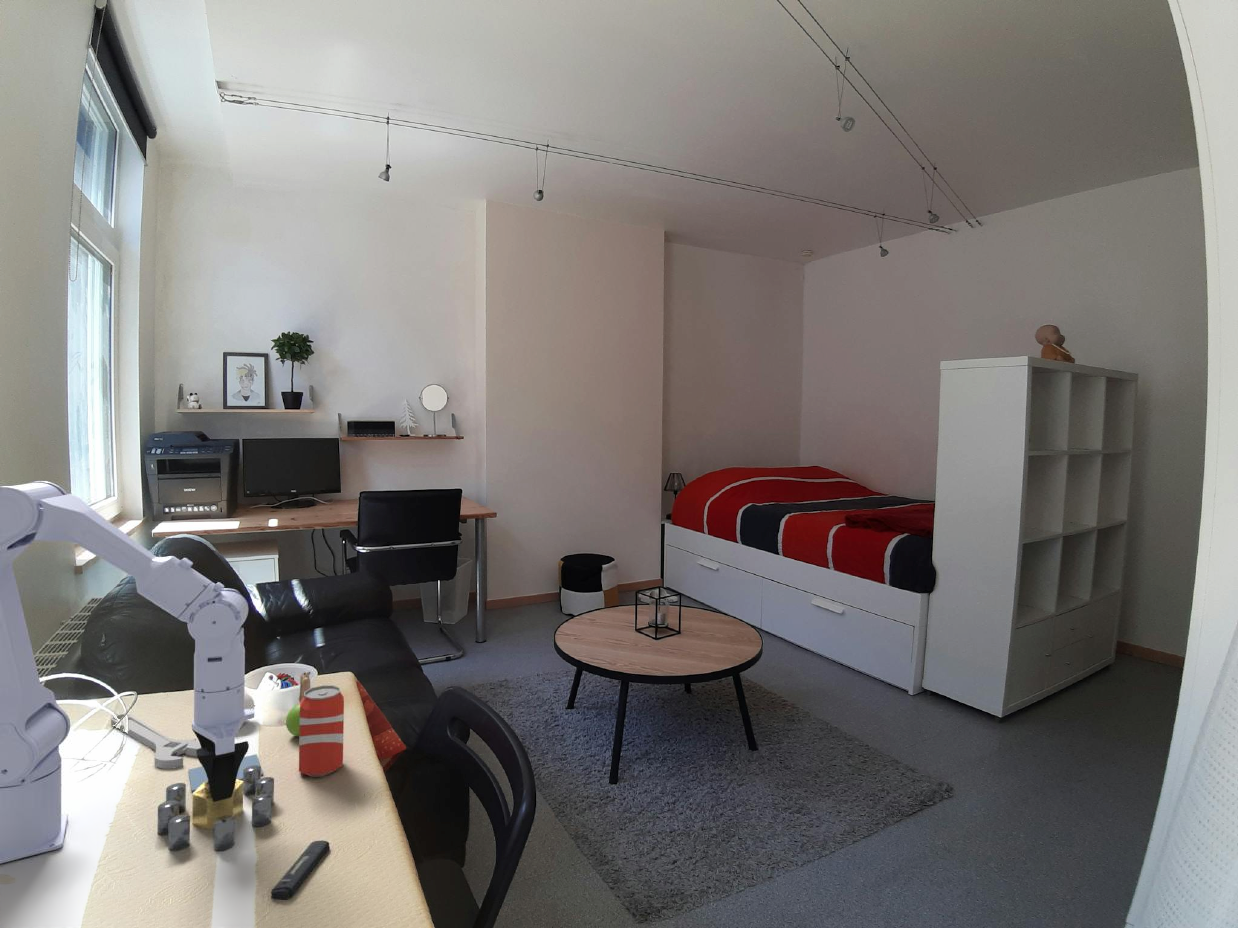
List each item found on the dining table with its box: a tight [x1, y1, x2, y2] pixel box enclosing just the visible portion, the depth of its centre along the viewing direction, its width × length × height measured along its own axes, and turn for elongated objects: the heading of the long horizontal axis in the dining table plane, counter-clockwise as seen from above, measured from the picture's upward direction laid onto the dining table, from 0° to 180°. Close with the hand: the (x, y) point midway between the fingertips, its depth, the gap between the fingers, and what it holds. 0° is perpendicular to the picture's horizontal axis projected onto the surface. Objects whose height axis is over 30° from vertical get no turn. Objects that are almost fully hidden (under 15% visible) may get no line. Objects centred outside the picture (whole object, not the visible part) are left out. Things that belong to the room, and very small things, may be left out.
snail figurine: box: [285, 670, 312, 737], centre depth 111 cm, size 5×6×12 cm
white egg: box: [244, 691, 256, 723], centre depth 115 cm, size 8×6×6 cm
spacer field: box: [157, 765, 275, 852], centre depth 86 cm, size 13×14×3 cm
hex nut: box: [191, 779, 244, 830], centre depth 87 cm, size 6×5×4 cm
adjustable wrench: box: [110, 713, 201, 769], centre depth 108 cm, size 25×6×2 cm, turn 53°
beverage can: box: [298, 684, 345, 777], centre depth 100 cm, size 6×6×12 cm
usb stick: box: [270, 840, 331, 901], centre depth 77 cm, size 10×3×2 cm, turn 178°
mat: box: [188, 754, 264, 793], centre depth 98 cm, size 9×7×1 cm
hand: (219, 785), depth 87 cm, fingers open, 7 cm apart
